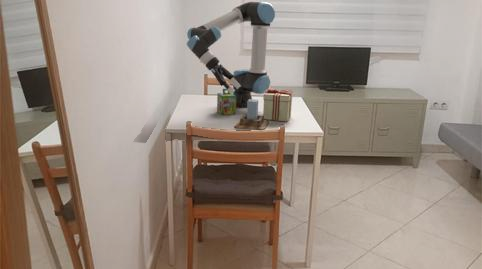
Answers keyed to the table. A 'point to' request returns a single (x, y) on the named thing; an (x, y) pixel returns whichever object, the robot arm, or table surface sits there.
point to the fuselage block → (252, 109)
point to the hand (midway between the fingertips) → (236, 90)
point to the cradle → (252, 123)
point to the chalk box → (226, 103)
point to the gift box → (277, 104)
